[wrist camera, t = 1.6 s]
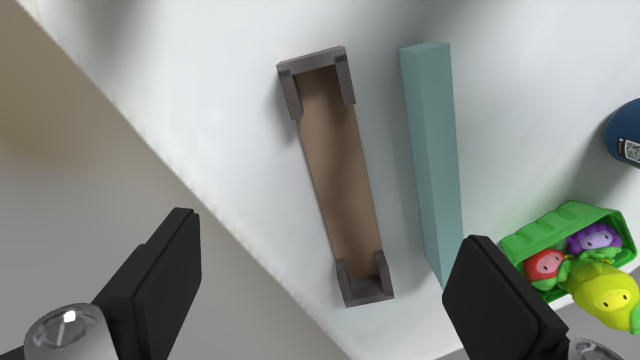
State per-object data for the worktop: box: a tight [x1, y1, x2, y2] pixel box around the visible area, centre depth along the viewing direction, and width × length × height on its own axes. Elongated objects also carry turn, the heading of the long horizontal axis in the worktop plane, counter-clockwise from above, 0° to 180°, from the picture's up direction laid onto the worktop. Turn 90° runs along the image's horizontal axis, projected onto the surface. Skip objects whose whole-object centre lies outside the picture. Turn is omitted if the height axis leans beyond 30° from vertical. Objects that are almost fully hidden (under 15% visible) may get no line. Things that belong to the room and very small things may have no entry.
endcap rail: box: [276, 46, 394, 308], centre depth 32 cm, size 6×27×4 cm, turn 14°
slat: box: [398, 42, 463, 291], centre depth 31 cm, size 24×2×6 cm, turn 14°
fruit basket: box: [500, 200, 640, 335], centre depth 33 cm, size 11×9×11 cm
